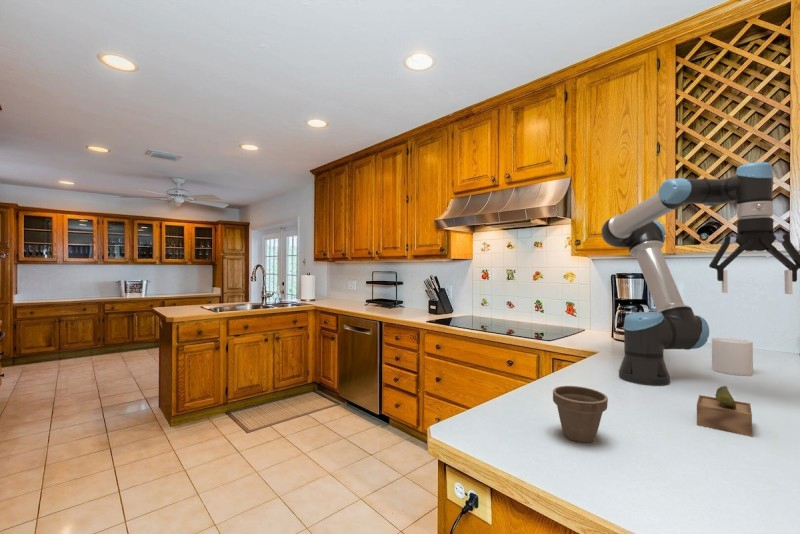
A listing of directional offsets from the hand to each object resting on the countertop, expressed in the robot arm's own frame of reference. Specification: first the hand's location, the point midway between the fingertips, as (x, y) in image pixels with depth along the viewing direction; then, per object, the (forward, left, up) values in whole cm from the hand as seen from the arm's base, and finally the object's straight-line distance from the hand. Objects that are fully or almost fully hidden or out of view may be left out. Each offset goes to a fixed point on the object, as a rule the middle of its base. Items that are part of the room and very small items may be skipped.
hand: (755, 293), depth 108 cm
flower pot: (-42, -47, -32) cm, 71 cm away
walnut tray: (-12, -21, -32) cm, 40 cm away
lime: (-11, -22, -27) cm, 37 cm away
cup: (+4, +45, -32) cm, 55 cm away
